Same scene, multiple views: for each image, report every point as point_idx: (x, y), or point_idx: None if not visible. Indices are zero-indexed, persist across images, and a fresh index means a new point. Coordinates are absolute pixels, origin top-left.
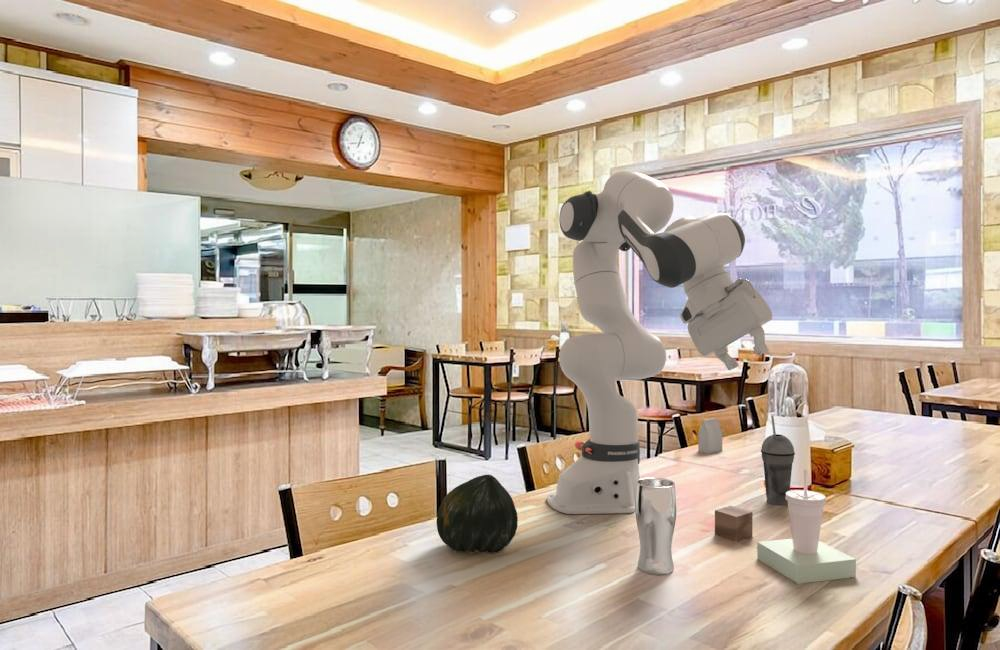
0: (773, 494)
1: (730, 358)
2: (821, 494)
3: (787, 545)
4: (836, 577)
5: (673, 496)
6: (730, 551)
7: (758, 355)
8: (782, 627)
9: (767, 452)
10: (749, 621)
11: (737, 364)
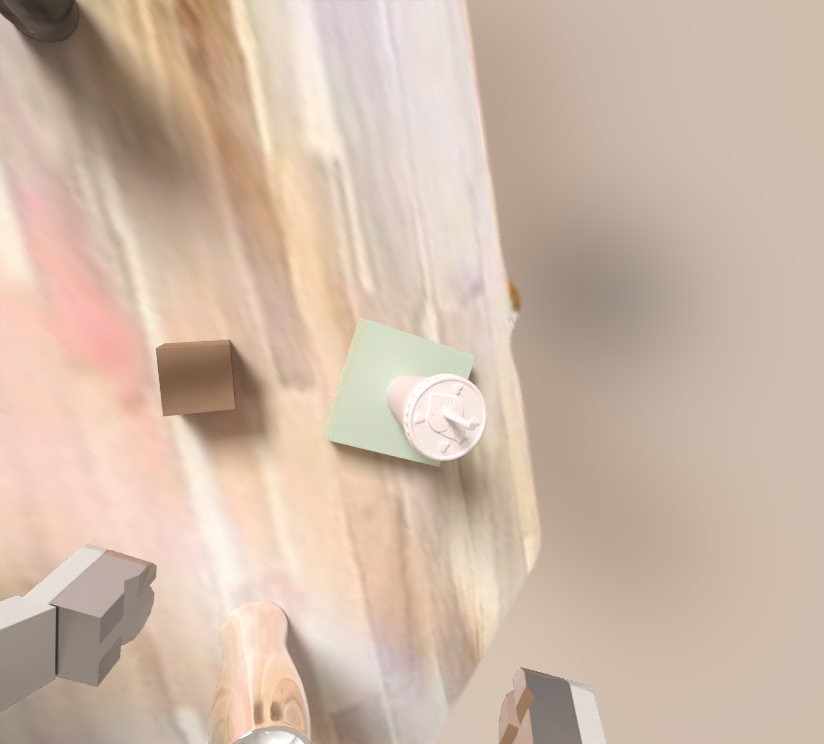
0: (44, 28)
1: (36, 629)
2: (466, 383)
3: (372, 403)
4: None
5: (309, 724)
6: (267, 449)
7: (502, 706)
8: (492, 582)
9: None
10: (461, 609)
11: (147, 578)
